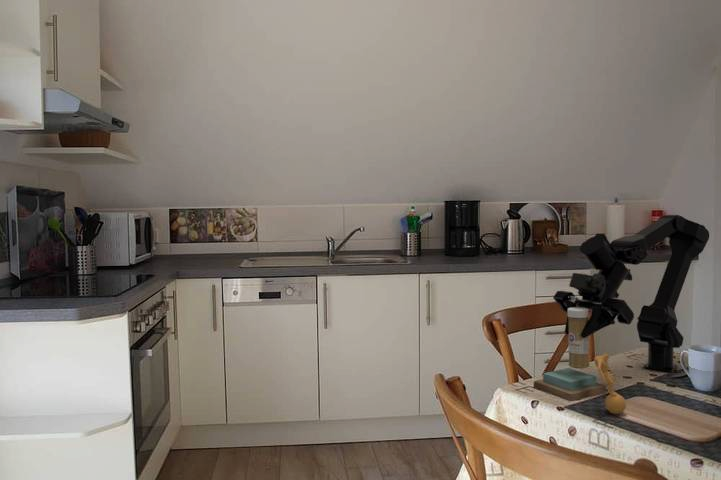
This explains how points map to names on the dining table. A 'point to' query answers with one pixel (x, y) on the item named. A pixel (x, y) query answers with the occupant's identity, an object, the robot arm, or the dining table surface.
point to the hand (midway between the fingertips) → (574, 335)
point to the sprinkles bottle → (578, 338)
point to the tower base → (570, 393)
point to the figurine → (614, 400)
